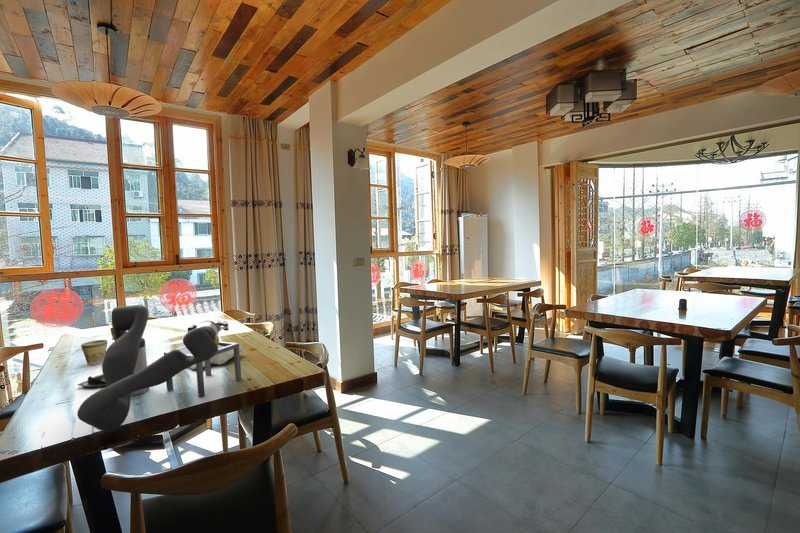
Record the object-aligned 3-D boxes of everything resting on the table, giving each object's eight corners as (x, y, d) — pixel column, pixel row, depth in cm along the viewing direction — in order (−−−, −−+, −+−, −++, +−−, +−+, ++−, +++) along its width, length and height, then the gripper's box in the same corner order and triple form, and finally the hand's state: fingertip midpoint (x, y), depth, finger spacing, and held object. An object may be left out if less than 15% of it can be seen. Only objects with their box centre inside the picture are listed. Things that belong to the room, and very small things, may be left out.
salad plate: (98, 375, 168) (97, 365, 168) (144, 370, 172) (143, 360, 172) (73, 392, 149) (72, 380, 149) (125, 386, 154) (124, 374, 153)
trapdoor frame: (201, 397, 138) (198, 357, 137) (167, 391, 146) (163, 352, 144) (241, 379, 155) (238, 343, 154) (208, 374, 163) (206, 339, 161)
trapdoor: (199, 360, 140) (199, 358, 140) (172, 353, 146) (172, 351, 146) (230, 350, 153) (230, 347, 153) (204, 343, 159) (204, 341, 159)
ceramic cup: (105, 363, 183) (103, 343, 183) (79, 367, 180) (77, 346, 179) (114, 356, 195) (112, 337, 195) (90, 359, 192) (88, 340, 191)
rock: (178, 354, 176) (230, 336, 194) (181, 369, 177) (233, 349, 195) (195, 364, 163) (250, 343, 182) (199, 379, 165) (252, 357, 183)
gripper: (184, 346, 132) (191, 335, 148) (229, 340, 137) (231, 331, 153) (182, 325, 132) (189, 316, 147) (227, 320, 137) (230, 312, 153)
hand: (210, 324), depth 150 cm, fingers open, 5 cm apart
